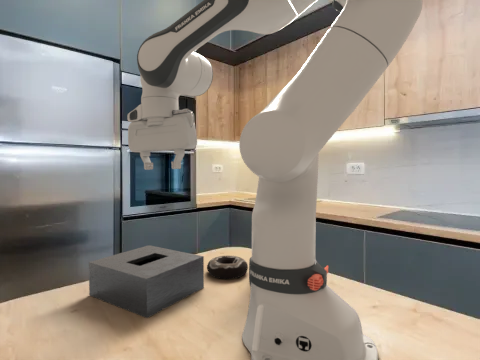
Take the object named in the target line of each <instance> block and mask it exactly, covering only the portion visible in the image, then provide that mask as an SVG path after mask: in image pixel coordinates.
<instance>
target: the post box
mask: <svg viewBox="0 0 480 360" xmlns="http://www.w3.org/2000/svg"><path fill="white" fill-rule="evenodd" d="M204 257H205V256H204V255H198V254H195V253H194V254H193V253H189V252H185V251H179V250H173V249H170V248H169V249H168V248H165V247H164V248H163V247H161V246H160V247H159V246H154V245H149V244H148V245H145V246H141V247H137V248H134V249H131V250H127V251H125V252H124V251H123V252H120V253H116V254H112V255H109V256H106V257H101V258H99V259H98V258H97V259H95V260H91V261H88V285H89V287H88V288H89V291H88V292H89V294H88V296H90V297H93V298H95V299H98V300H100V301H103V302H105V303H108V304H110V305H113V306H115V307H118V308H120V309H122V310H125V311H128V312H131V313H133V314H136V315H138V316H141V317H142V318H143V317H144V318H146V319H148V318H149V317H152V316H154V315H156V314H157V313H159V312H161V311H164V310H165V309H168V307H171V306H172V305H174V304H176V303H179V302H180V301H182V300H184V299H186V298H188V297H189V296H191V295H192V294H194V293H196V292H199V291H200V290H202V289H204V288H205V287H204V286H205V285H204V284H205V280H204V279H205V278H204V277H205V276H204V275H205V274H204V273H205V271H204V268H205V265H204V264H205V263H204V262H205V261H204V259H205V258H204Z"/></svg>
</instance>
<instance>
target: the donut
mask: <svg viewBox="0 0 480 360" xmlns="http://www.w3.org/2000/svg"><path fill="white" fill-rule="evenodd" d="M206 269H207V271H208V272H207V273H208V274H209V275H210V276H212V277H214V278H217V279H221V280H222V279H223V280H234V279H237V278H240V277H242V276H244V275H245V274H246V273H247V272H248V270H249V265H248V262H247V261H246V260H245V259H244V258H242V257H241V256H236V255H220V256H216V257H213V258H212V259H210V260H209V261H208V263H207V265H206Z"/></svg>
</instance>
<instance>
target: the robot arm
mask: <svg viewBox="0 0 480 360" xmlns="http://www.w3.org/2000/svg"><path fill="white" fill-rule="evenodd" d="M318 1H319V0H202V1H201V2H200V3H198V4H197V5H196V6H194V7H193V8H192V9H190V10H189V11H187V13H185V14H184V15H182V16H181V17H180V18H178V19H177V20H176V21H175V22H173V23H172V24H171V25H169V26H168V27H166V28H165V29H162V30H160V31H157V32H155V33H153V34H151V35H150V36H148V37H147V38H145V40H143V42H142V43H141V45H140V46H139V49H138V50H137V55H136V62H137V63H136V64H137V68H138V71H139V73H140V74H139V75H140V76H139V77H140V84H141V88H142V93H141V97H140V104H139V105H137V106H136V107H135V108H134V109H133V110H131V111H130V112H129V113H127V121H128V122H130V123H129V124H128V128H127V140H128V148H129V151H130V152H131V153H139V156H140V158H141V161H142V162H143V169H144V170H147V171H149V170H151V171H152V170H153V169H154V162H152V161H151V158H150V157H151V152H165V151H173V154H174V155H175V156H174V159H173V161H171V162H170V163H171V169H172V170H180V169H181V168H182V161H183V158H184V157H185V154H186V151H185V150H194V149H195V148H196V147H197V145H198V138H197V136H198V135H197V129H196V124H195V113H193V111H192V110H190V109H189V108H183V109H180V106H179V97H180V96H189V97H199V96H202V95H204V94H205V93H207V92H208V90H209V89H210V87H211V85H212V83H213V78H214V70H213V66H212V64H211V62H210V61H209V60H208V59H207V58H205V57H204V56H203V55H201V54H200V53H197V52H196V51H197V50H199V48H201V47H202V46H204V45H205V44H206V43H209V41H211V40H212V39H213V38H215V37H217V36H218V35H220V34H222V33H226V32H228V31H244V32H251V33H256V34H259V35H271V34H274V33H276V32H278V31H280V30H282V29H283V28H285V27H287V26H288V25H290V24H291V23H292V22H293V21H294V20H296V19H297V18H298V17H299V16H300V15H302V14H303V13H304V12H306V10H308V9H309V8H310V7H311V6H312V5H313V4H314V3H316V2H318ZM332 8H333V9H334V10H336V11H337V12H338V13H339V15H338V16H337V17H336V18H335V20H334V21H333V23H332V24H331V26H330V27H329V28H328V30H327V31H326V33H325V34H324V36H323V37H322V38H321V40H320V41H319V42H318V44H317V46H316V47H315V49H314V50H313V51H312V52H311V54H310V55H309V57H307V60H306V61H305V63H303V65H302V67H301V68H300V69H299V70H298V72H297V73H296V74H295V75H294V76H293V78H292V79H291V80H290V81H289V82H288V83H287V84H286V85H285V86H284V87H283V88H282V89H281V90H280V91H279V92H278V93H277V94H276V95H274V97H273V98H272V99H271V100H270V101H269V103H268V104H267V105H266V106H265V107H264V108H263V109H262V111H259V113H257V114H256V115H254V116H253V117H252V118H250V119H249V120H248V122H247V123H246V124H245V125H244V127H243V129H242V130H241V134H240V135H239V136H240V137H239V144H238V145H239V153H240V155H241V156H240V157H241V158H242V161H243V162H244V164H245V165H246V167H247V169H249V170H250V171H251V173H253V174H254V175H256V176H257V177H258V183H257V189H256V196H255V200H254V206H253V209H252V213H251V257H250V258H249V259H248V260H249V261H248V262H249V263H248V264H249V265H248V282H249V283H248V284H249V287H250V290H249V291H250V294H249V301H248V310H247V314H246V319H245V324H244V327H243V331H242V334H241V336H242V337H241V338H242V342H243V344H244V346H245V347H246V349H247V350H248V351H249V353H250V356H251V357H250V358H251V360H379V354H378V353H379V352H378V348H377V345H376V343H375V341H374V340H373V339H372V338H371V336H368V335H366V334H363V327H362V323H361V320H360V316H359V313H358V312H357V310H356V309H355V308H354V307H352V306H351V305H350V304H349V303H348V302H347V301H345V299H343V298H342V297H341V296H340V295H339V294H338V293H336V291H334V289H332V288H331V287H330V286H329V285H328V284H327V282H328V274H329V265H326V266H325V267H323V266H322V265H321V264H320V263H319V262H318V261H317V259H316V238H317V237H316V236H317V235H316V233H317V231H316V230H317V229H316V227H317V225H316V224H317V222H316V221H317V220H316V219H317V200H318V198H317V197H318V183H319V182H318V179H319V178H318V177H319V153H320V152H321V150H322V149H323V148H324V147H325V146H326V144H327V143H328V142H329V140H330V139H331V138H332V137H333V135H334V134H336V133H337V131H338V130H339V129H340V127H341V126H342V125H343V124H344V123H345V122H346V120H347V119H348V118H349V117H350V116H351V115H352V113H353V112H355V111H356V109H357V107H358V106H359V105H360V104H361V103H362V101H363V100H364V98H365V97H366V96H367V94H368V93H369V92H370V91H371V89H372V88H373V87H374V86H375V84H376V83H377V82H378V80H379V79H380V78H381V77H382V75H383V74H384V72H386V70H387V69H388V67H390V64H391V63H392V62H393V61H394V59H395V58H396V57H397V55H398V54H399V52H400V51H401V49H402V47H404V44H405V42H406V41H407V39H408V37H409V36H410V34H411V32H412V31H413V29H414V27H415V25H416V23H417V21H418V19H419V17H420V15H421V13H422V10H423V0H332Z"/></svg>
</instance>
